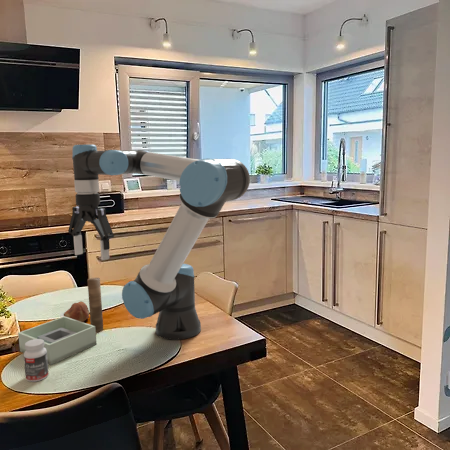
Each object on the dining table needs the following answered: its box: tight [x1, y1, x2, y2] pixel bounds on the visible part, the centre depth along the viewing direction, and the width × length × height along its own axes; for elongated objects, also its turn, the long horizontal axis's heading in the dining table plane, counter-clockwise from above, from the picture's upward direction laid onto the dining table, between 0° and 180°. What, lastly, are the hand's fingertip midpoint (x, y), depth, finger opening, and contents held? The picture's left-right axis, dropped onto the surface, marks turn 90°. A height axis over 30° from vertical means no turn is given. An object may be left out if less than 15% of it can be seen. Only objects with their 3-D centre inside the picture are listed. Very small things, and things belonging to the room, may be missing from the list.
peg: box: [86, 277, 104, 333], centre depth 144 cm, size 4×4×18 cm
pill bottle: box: [23, 339, 49, 383], centre depth 114 cm, size 6×6×10 cm
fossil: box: [63, 301, 90, 323], centre depth 153 cm, size 13×8×10 cm
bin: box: [17, 315, 97, 366], centre depth 132 cm, size 16×16×6 cm
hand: (91, 256), depth 142 cm, fingers open, 13 cm apart
